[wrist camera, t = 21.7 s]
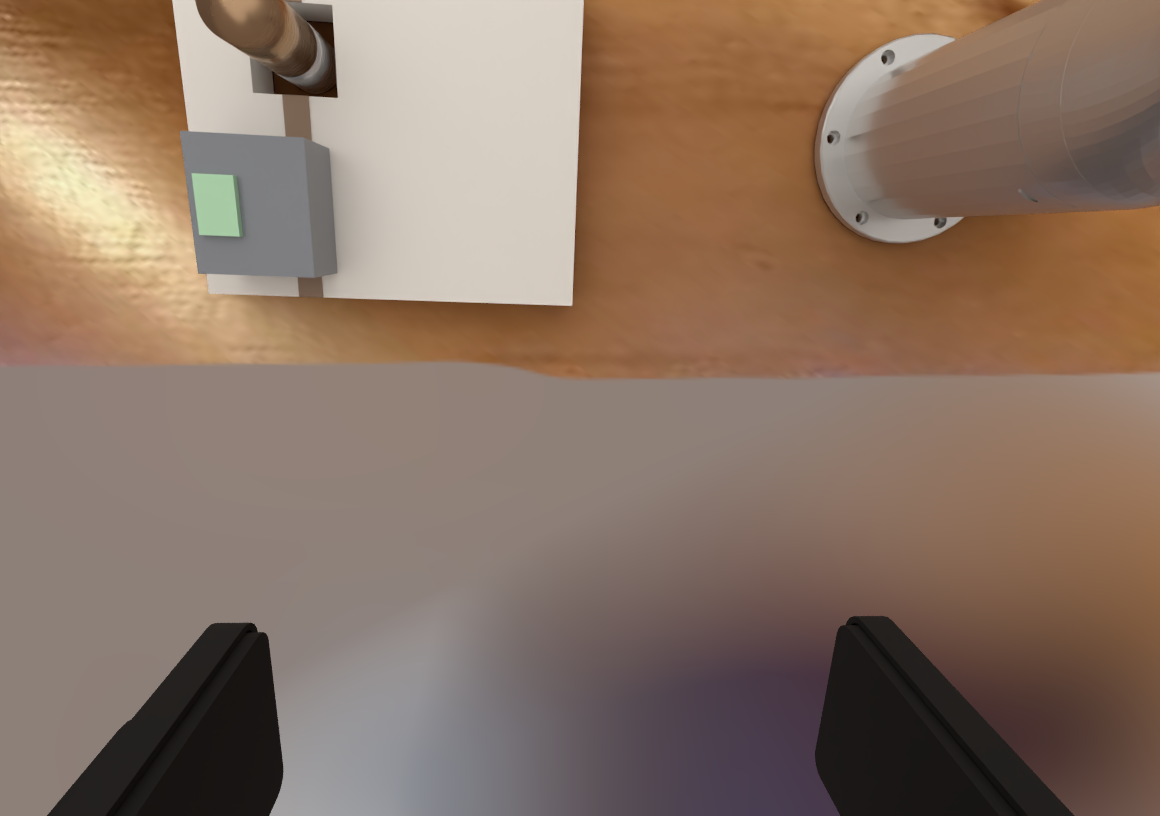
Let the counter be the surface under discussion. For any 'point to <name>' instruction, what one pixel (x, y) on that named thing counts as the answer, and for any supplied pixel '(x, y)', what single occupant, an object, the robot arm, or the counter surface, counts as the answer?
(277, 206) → the block
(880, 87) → the robot arm
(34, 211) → the counter surface
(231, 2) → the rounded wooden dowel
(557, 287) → the white flat rectangular board
